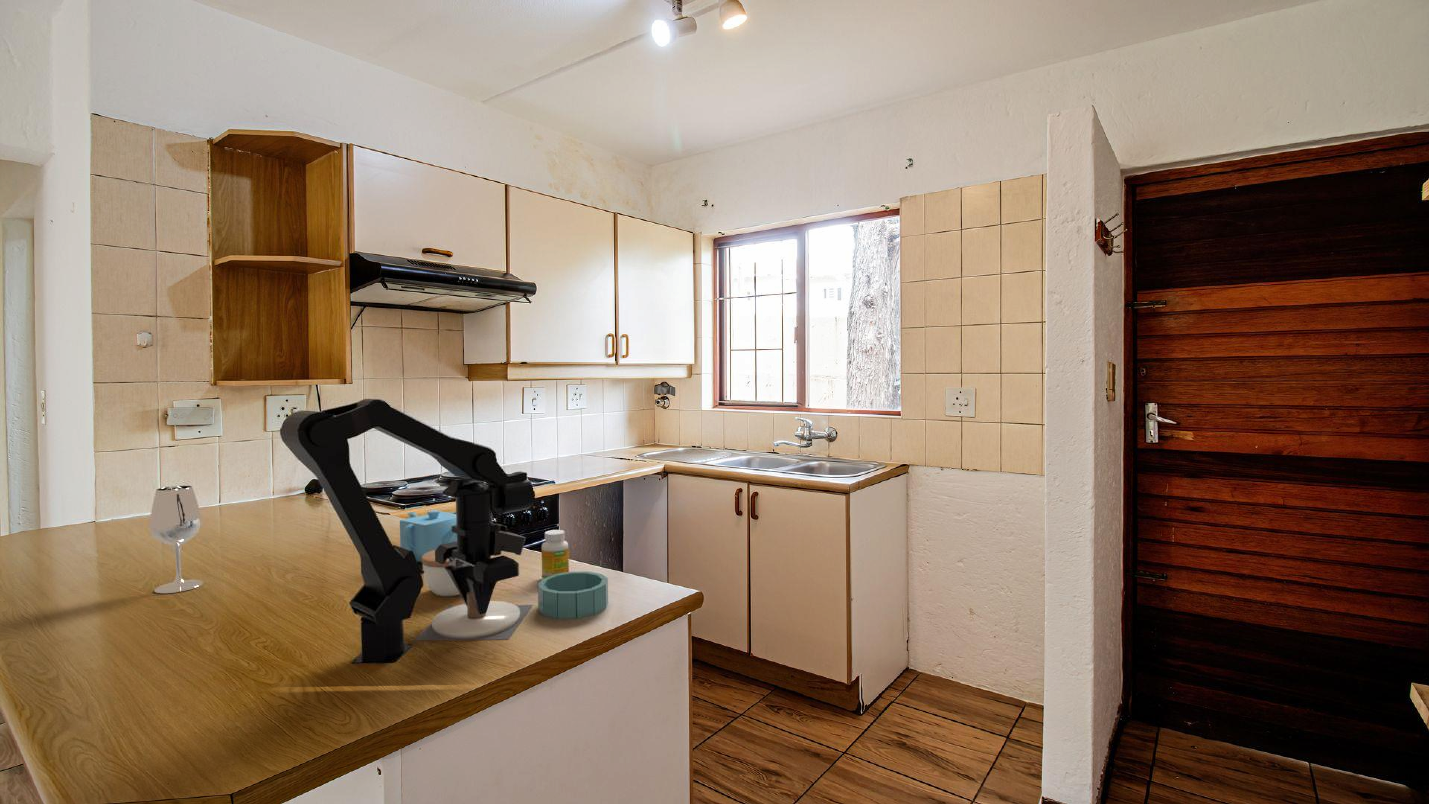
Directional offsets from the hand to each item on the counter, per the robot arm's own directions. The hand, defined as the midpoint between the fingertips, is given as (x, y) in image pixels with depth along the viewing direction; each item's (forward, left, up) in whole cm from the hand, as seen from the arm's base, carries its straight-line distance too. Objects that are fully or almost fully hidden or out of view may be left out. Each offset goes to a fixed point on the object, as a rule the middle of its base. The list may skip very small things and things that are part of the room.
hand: (476, 610), depth 111 cm
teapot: (+39, +23, -3) cm, 45 cm away
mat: (0, 0, -2) cm, 2 cm away
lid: (0, 0, -2) cm, 2 cm away
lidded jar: (+16, +10, -3) cm, 19 cm away
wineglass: (+21, +66, -3) cm, 69 cm away
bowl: (+7, -15, -3) cm, 17 cm away
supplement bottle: (+24, -8, -3) cm, 25 cm away
